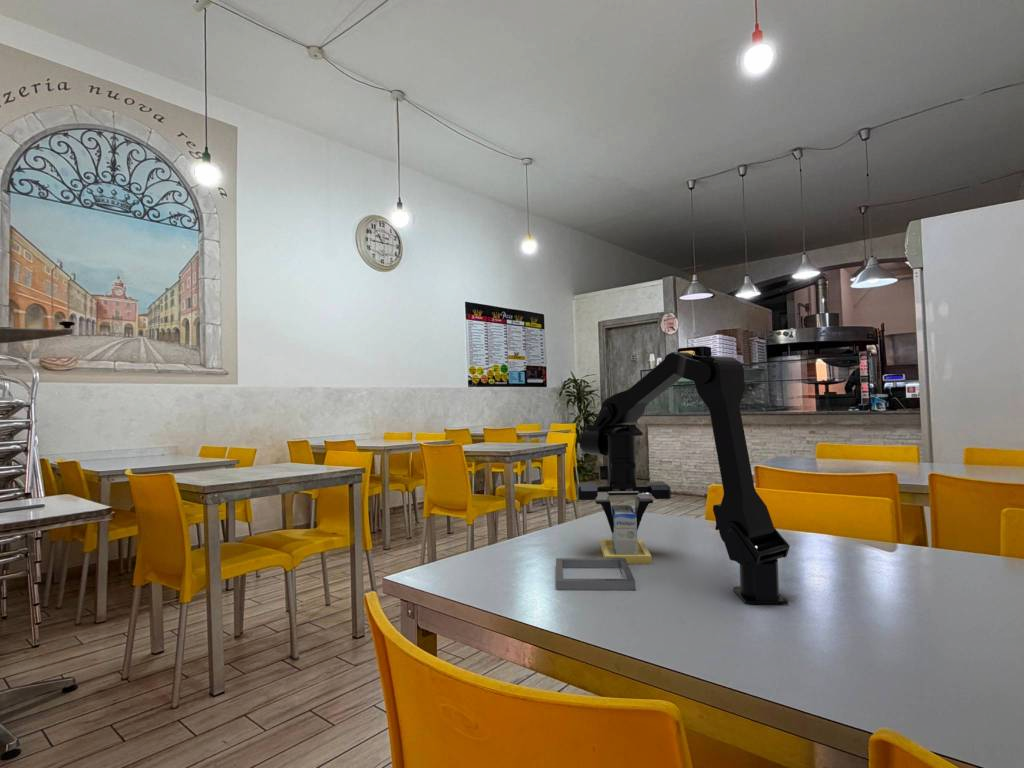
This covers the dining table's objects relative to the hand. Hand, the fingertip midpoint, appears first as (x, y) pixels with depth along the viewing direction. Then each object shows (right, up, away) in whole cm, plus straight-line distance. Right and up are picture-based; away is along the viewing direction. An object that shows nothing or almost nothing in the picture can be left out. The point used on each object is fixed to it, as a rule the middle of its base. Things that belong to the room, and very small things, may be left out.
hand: (624, 532), depth 114 cm
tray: (0, -5, 0) cm, 5 cm away
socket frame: (-9, -4, -14) cm, 17 cm away
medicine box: (0, -4, 0) cm, 4 cm away
